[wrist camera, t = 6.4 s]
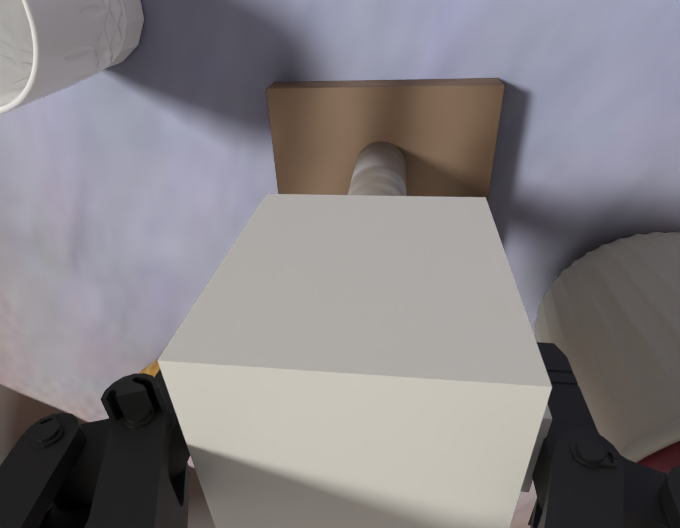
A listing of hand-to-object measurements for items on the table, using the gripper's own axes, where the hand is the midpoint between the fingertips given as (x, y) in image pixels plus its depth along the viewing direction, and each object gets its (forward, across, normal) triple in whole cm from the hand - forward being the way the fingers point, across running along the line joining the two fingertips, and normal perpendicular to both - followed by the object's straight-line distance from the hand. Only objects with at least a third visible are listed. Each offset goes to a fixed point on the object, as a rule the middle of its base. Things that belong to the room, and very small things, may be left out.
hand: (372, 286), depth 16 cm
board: (+15, 0, -6) cm, 16 cm away
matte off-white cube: (0, 0, 0) cm, 0 cm away
